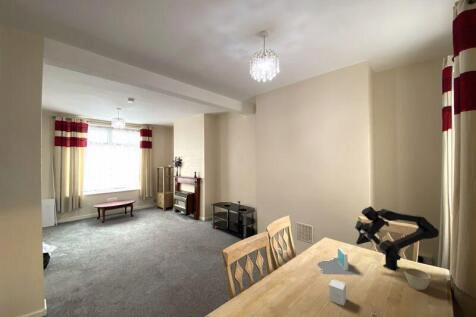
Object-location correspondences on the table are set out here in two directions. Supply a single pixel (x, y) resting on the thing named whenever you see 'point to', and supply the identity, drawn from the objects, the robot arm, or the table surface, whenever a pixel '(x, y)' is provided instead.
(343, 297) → the product box
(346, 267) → the tile
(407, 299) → the table surface
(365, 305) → the table surface
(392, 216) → the robot arm
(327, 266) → the mat
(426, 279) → the cream bowl
